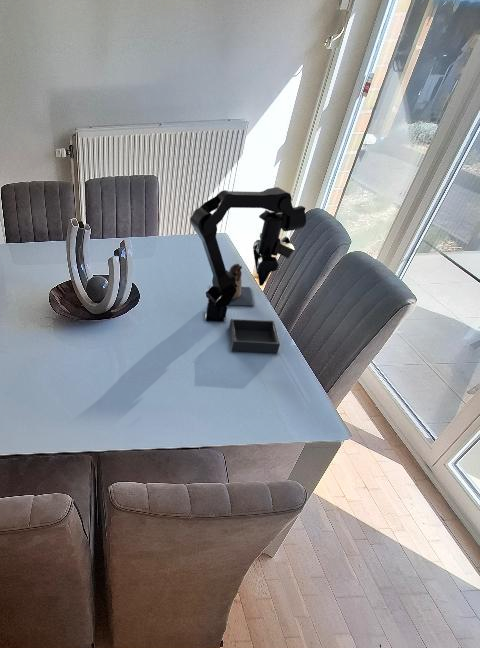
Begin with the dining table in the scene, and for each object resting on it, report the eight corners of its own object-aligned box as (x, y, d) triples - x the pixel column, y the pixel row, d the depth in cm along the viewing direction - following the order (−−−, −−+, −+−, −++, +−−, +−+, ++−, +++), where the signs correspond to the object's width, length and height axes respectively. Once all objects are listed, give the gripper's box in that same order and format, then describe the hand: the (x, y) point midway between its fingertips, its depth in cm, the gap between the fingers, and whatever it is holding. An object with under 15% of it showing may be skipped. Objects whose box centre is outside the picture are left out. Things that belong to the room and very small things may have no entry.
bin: (231, 351, 151) (233, 341, 149) (228, 329, 161) (230, 318, 158) (276, 354, 150) (280, 343, 147) (271, 331, 160) (274, 320, 157)
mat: (212, 304, 174) (212, 303, 173) (210, 286, 184) (211, 285, 183) (252, 306, 172) (252, 305, 172) (249, 288, 182) (249, 287, 182)
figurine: (233, 289, 181) (240, 258, 172) (243, 297, 176) (250, 266, 168) (218, 292, 179) (223, 261, 171) (227, 300, 175) (233, 269, 166)
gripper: (301, 244, 142) (287, 292, 154) (291, 223, 155) (279, 268, 166) (264, 243, 144) (253, 291, 155) (258, 222, 156) (248, 267, 167)
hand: (259, 279), depth 161 cm, fingers open, 9 cm apart
